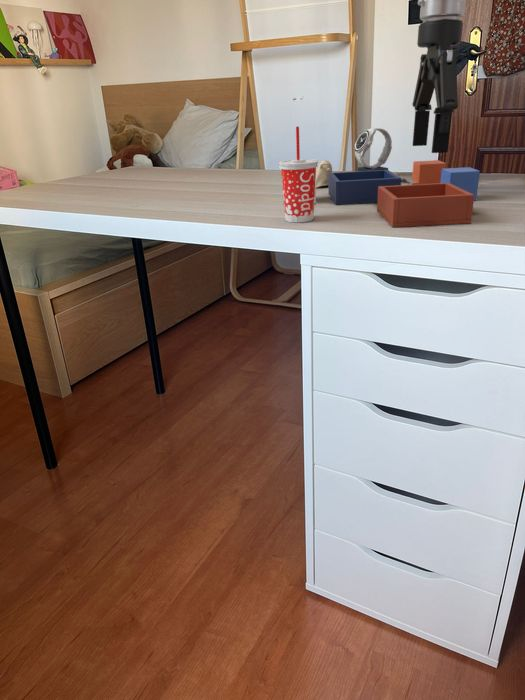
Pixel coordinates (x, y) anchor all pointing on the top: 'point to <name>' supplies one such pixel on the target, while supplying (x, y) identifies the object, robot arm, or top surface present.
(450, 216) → the rust bin
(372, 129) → the watch
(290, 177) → the beverage cup
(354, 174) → the navy bin
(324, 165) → the decorative ornament
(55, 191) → the top surface
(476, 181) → the slate blue block
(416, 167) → the terracotta block
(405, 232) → the top surface
